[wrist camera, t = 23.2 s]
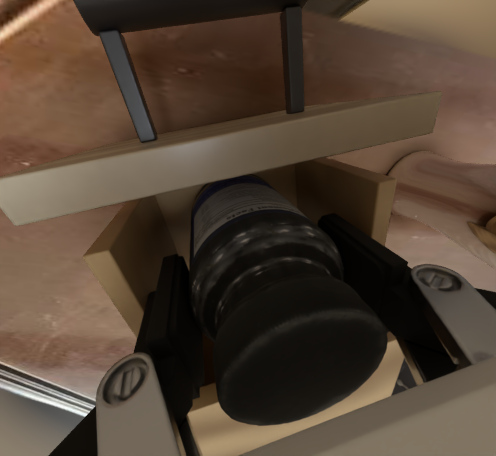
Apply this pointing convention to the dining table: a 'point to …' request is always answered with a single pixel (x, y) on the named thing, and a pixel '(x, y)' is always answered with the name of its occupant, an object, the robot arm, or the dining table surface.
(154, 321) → the robot arm
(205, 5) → the drawer
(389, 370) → the cabinet
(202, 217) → the camera lens
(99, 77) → the dining table surface
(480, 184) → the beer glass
